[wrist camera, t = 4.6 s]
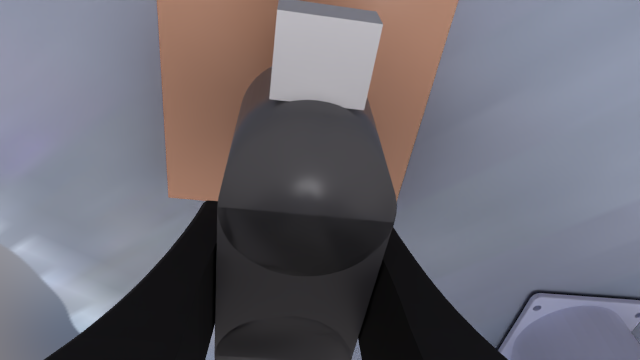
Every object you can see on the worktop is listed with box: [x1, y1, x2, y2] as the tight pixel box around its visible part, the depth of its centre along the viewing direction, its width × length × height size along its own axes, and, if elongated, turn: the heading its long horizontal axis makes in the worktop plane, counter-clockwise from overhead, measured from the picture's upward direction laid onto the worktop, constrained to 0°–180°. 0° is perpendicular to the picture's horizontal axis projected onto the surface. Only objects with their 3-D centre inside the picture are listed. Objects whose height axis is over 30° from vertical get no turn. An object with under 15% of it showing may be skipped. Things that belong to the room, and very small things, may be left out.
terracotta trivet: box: [157, 0, 458, 202], centre depth 19 cm, size 11×11×1 cm
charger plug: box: [215, 0, 397, 360], centre depth 12 cm, size 10×4×4 cm, turn 172°
